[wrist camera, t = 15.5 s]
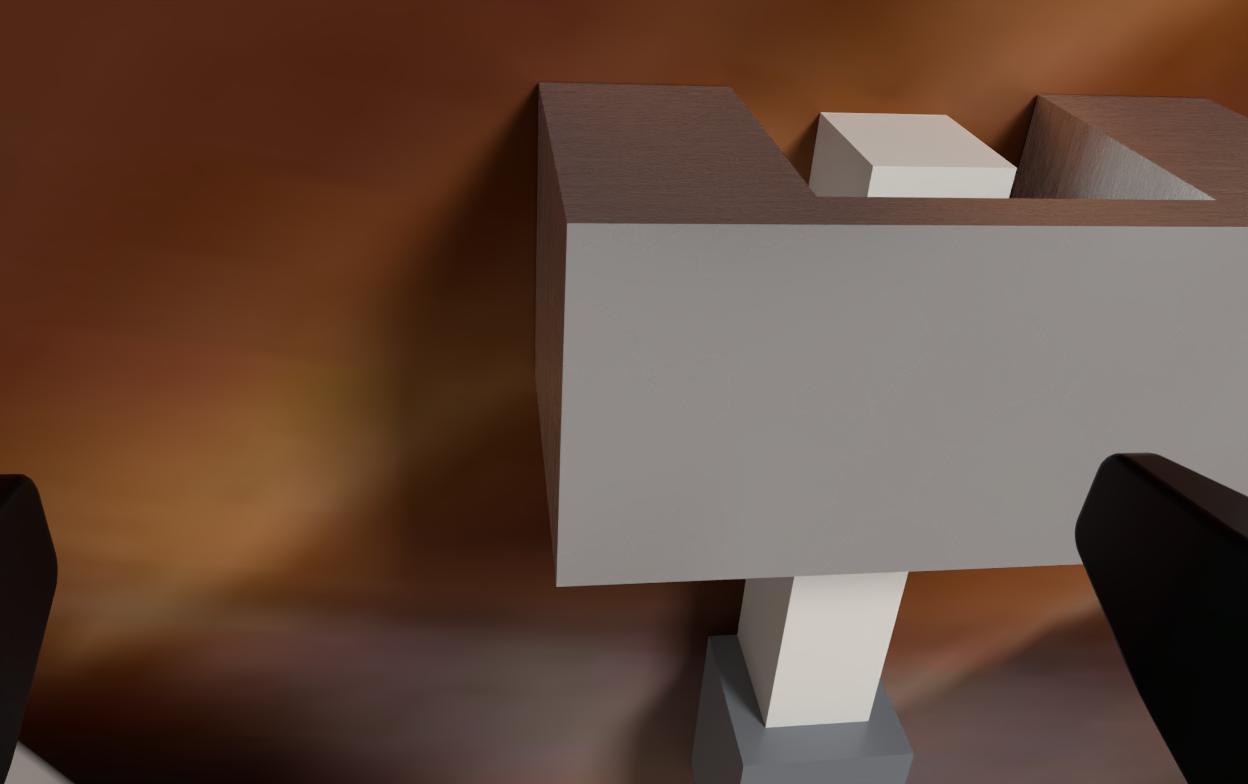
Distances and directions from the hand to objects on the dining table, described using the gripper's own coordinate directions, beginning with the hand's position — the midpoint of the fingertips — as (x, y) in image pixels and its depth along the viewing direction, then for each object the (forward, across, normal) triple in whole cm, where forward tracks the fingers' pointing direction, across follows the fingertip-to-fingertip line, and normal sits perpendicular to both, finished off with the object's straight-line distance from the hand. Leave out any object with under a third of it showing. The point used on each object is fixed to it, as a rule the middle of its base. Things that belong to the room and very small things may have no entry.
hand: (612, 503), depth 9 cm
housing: (+11, -7, +2) cm, 13 cm away
